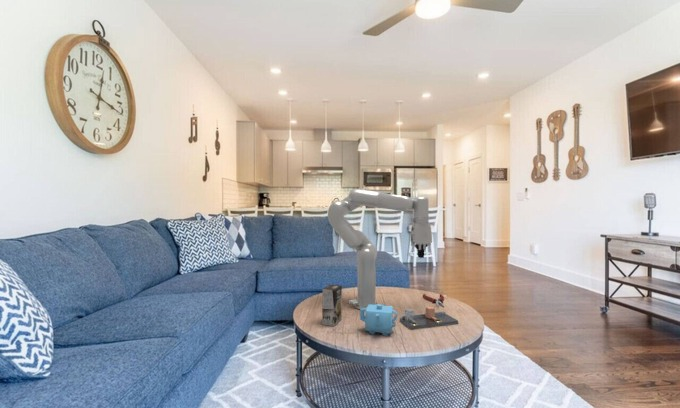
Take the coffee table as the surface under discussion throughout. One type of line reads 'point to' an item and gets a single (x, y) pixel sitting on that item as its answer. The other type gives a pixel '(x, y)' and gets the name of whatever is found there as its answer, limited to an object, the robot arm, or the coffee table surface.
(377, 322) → the teapot
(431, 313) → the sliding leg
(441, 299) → the pliers
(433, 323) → the plate
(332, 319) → the coffee box
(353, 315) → the coffee table surface
